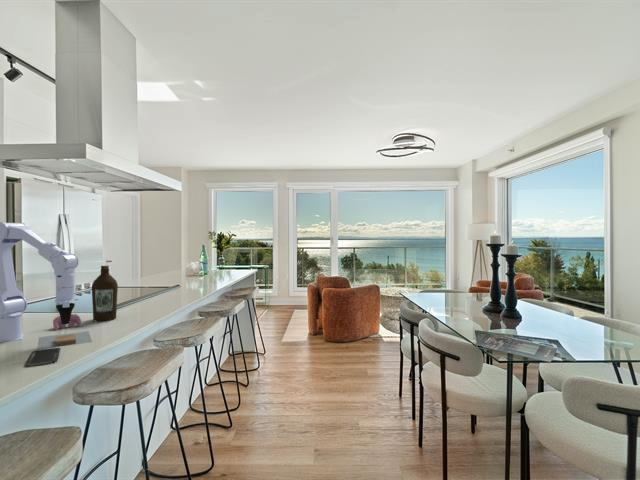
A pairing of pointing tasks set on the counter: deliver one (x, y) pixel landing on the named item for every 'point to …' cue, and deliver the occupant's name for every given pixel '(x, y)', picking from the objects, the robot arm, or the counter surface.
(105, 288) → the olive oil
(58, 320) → the video game controller
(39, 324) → the counter surface
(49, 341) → the rubber mat
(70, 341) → the walnut tile
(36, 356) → the phone
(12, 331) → the robot arm
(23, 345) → the counter surface
